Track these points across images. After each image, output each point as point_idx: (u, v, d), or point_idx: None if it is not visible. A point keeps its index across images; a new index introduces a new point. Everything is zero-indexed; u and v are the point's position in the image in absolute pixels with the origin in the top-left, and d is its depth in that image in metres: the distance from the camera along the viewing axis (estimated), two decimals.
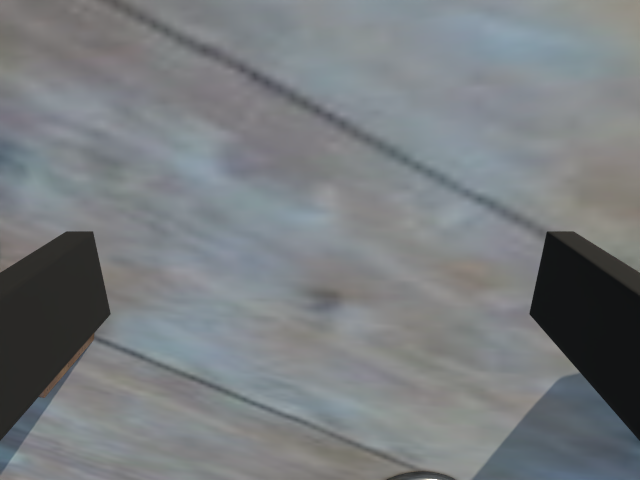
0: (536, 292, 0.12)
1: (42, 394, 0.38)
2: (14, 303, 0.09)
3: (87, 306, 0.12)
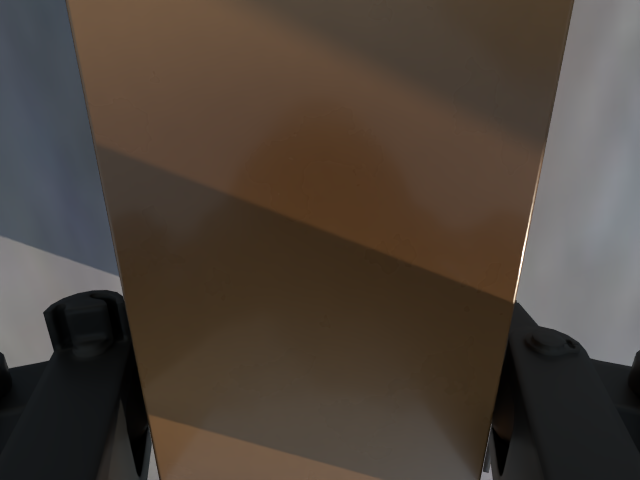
0: None
1: None
2: None
3: None
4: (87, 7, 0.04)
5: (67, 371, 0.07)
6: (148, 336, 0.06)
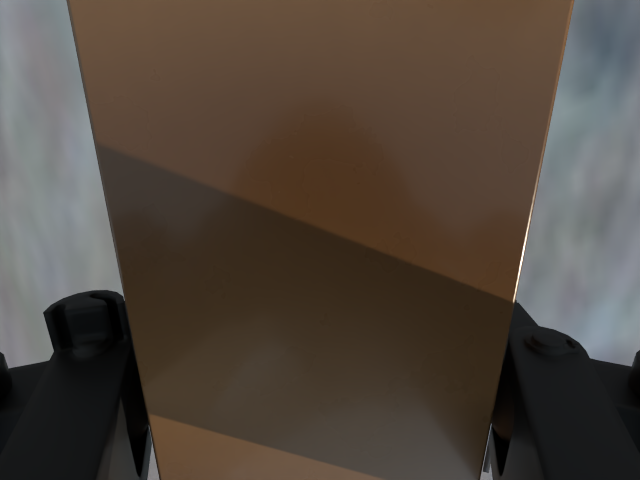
0: None
1: None
2: None
3: None
4: (88, 5, 0.04)
5: (67, 371, 0.07)
6: (148, 334, 0.06)
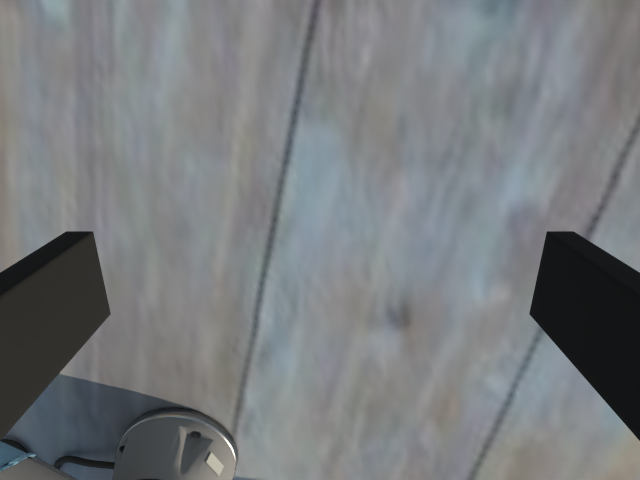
0: (536, 292, 0.12)
1: None
2: (14, 303, 0.09)
3: (87, 306, 0.12)
4: None
5: None
6: None
